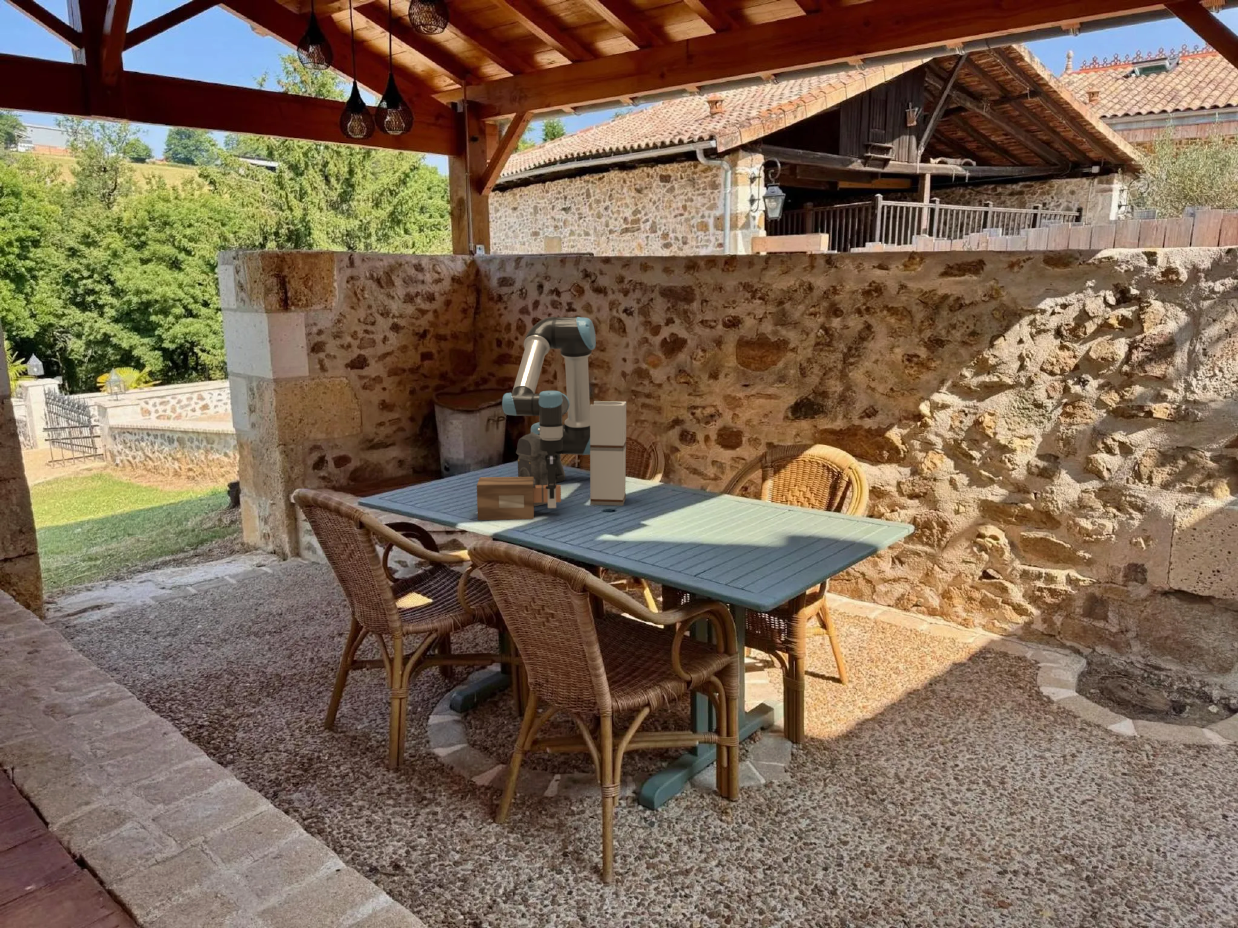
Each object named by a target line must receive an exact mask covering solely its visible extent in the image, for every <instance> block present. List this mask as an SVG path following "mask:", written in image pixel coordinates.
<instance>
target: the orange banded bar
mask: <svg viewBox="0 0 1238 928" xmlns="http://www.w3.org/2000/svg"><path fill="white" fill-rule="evenodd" d="M546 486H548V485H535V487H533V500H534V503H541V502H542V503H544V502H548V489H546ZM561 488H562V485H561V484H556V503H561V502H562V489H561Z"/></svg>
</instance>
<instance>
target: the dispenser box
mask: <svg viewBox="0 0 1238 928" xmlns="http://www.w3.org/2000/svg"><path fill="white" fill-rule="evenodd" d="M533 487H535V479H534V477H518V476H492V477H489V476H488V477H482V476H481V477H480V476H479V478H478V480H477V484H476V505H477V508H476V509H477V521H481V520H482V521H489V520H490V521H497V520H534V519H535V518H534V517H535V506H534V500H533Z"/></svg>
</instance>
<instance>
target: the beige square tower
mask: <svg viewBox="0 0 1238 928" xmlns="http://www.w3.org/2000/svg"><path fill="white" fill-rule="evenodd" d="M626 450H627V401H610V400H609V401H606V400H605V401H603V400H602V401H601V400H594V401H593V404H590V455H589V459H590V460H589V461H590V462H589V463H590V464H589V470H590V473H589V478H590V479H589V482H590V489H589V491H590V492H589V493H590V501H589V503H590V504H589V505H590V506H592V505H593V506H620V507H621V506H624V504H625V501H626V497H627V495H626V494H627V493H626V482H627V481H626V467H627V466H626V464H627V463H626V462H627V461H626V457H627V456H626V454H627V453H626Z"/></svg>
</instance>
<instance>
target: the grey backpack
mask: <svg viewBox="0 0 1238 928" xmlns="http://www.w3.org/2000/svg"><path fill="white" fill-rule="evenodd" d="M540 439H542V438H540V435H538V434H535V433H534V432H531V431H530V433H528V434H525V435H523V436H522V437H520V438H519V439H518V442H517V446H516V447H517V449H516V451H515V454H517V455H518V458H517V477H534V479H535V485H548V479H547V477H548V476H547V474H548V470H547V469H546V462H545V455H547V454H548V453H547V451H546V452H544V451H541V450H540ZM542 505H548V502H544V503H542V502H541V503H534V507H537V506H542Z"/></svg>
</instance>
